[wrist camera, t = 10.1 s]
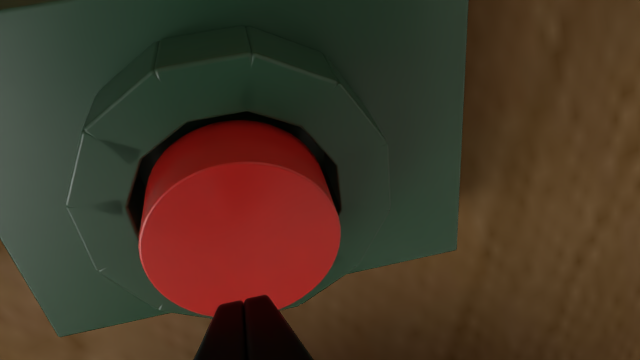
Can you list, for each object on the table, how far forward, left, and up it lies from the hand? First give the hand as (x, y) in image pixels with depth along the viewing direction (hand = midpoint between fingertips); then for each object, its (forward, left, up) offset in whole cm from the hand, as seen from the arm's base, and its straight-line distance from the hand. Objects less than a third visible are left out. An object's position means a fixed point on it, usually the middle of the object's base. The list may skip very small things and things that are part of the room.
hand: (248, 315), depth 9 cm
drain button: (0, 0, -3) cm, 3 cm away
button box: (0, 0, -7) cm, 7 cm away
